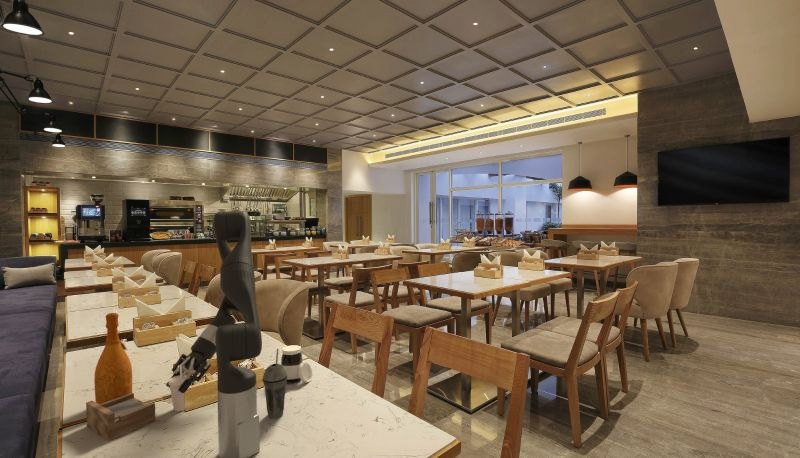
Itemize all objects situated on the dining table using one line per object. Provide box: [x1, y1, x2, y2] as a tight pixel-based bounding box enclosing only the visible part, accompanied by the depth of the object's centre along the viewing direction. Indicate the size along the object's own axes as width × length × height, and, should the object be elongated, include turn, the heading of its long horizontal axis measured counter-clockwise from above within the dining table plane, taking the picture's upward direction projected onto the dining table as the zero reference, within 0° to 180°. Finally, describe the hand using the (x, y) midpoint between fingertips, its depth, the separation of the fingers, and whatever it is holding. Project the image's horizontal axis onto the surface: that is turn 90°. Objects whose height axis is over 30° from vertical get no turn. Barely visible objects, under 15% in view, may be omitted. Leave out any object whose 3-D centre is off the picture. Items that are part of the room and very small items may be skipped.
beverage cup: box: [262, 348, 287, 419], centre depth 119 cm, size 7×7×20 cm
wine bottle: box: [93, 312, 133, 404], centre depth 126 cm, size 10×10×30 cm
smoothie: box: [167, 365, 191, 413], centre depth 123 cm, size 6×6×14 cm
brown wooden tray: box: [85, 392, 156, 441], centre depth 114 cm, size 14×12×7 cm
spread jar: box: [280, 344, 313, 384], centre depth 145 cm, size 12×11×12 cm
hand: (174, 389), depth 122 cm, fingers closed on smoothie, 6 cm apart
